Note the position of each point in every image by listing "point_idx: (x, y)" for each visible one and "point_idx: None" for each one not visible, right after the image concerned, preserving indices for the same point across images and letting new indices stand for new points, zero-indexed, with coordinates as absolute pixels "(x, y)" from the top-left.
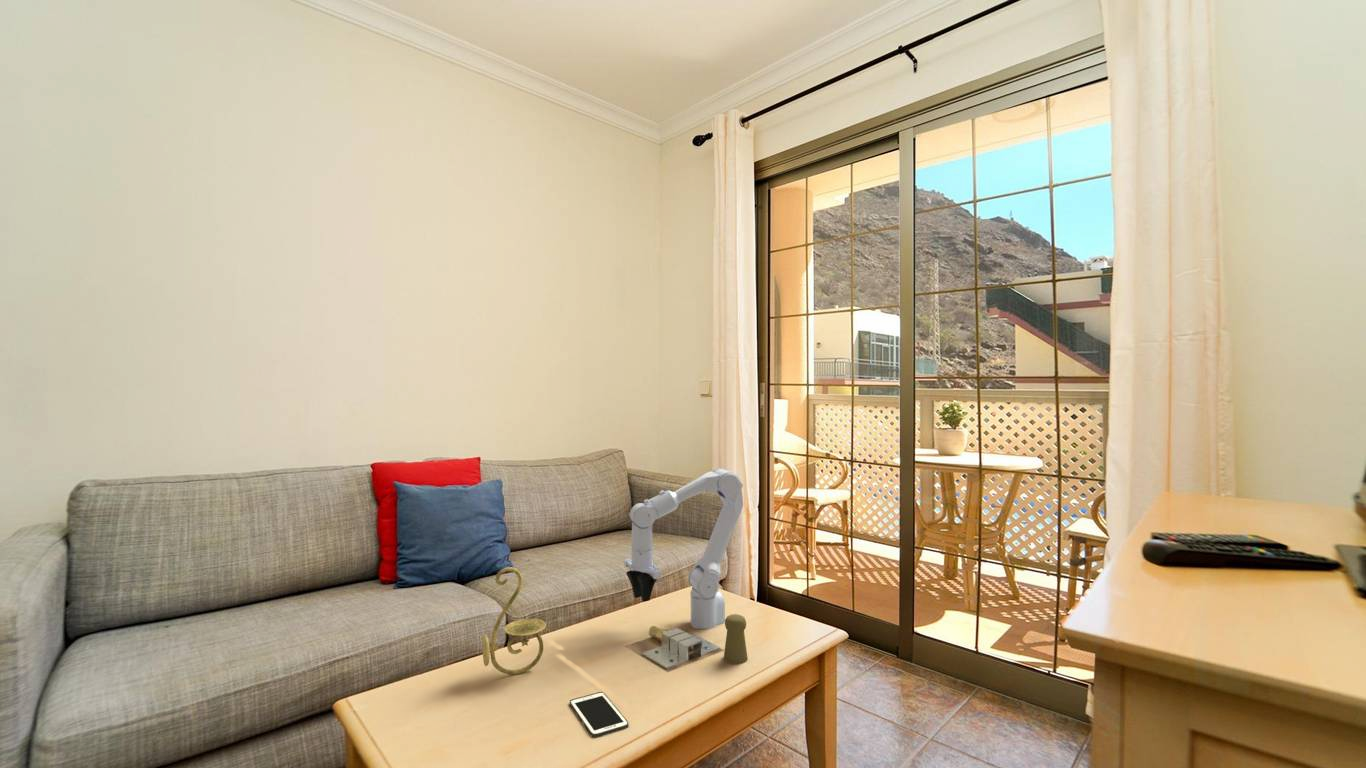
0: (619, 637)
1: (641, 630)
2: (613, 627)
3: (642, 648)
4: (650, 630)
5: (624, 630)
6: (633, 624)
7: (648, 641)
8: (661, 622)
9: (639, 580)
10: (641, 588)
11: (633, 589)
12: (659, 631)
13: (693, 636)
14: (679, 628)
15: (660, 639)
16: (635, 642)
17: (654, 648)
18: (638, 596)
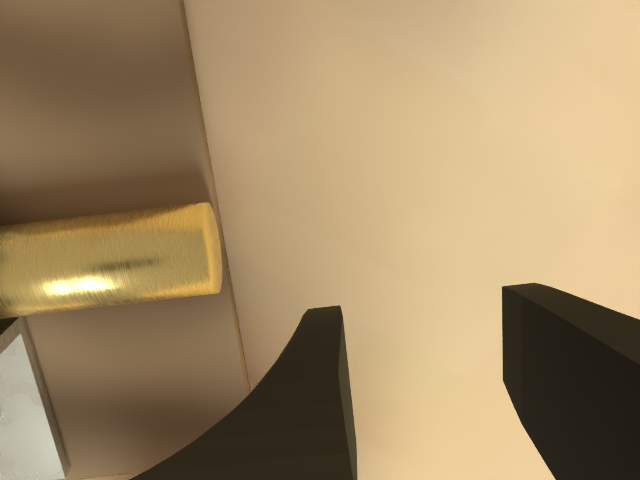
0: (412, 13)
1: (425, 233)
2: (623, 67)
3: (43, 45)
4: (186, 218)
5: (510, 119)
6: (563, 235)
7: (148, 156)
8: (460, 415)
9: (283, 472)
10: (303, 387)
11: (586, 314)
12: (74, 256)
13: (40, 458)
14: None
15: (37, 222)
16: (186, 53)
17: (1, 133)
18: (508, 333)
